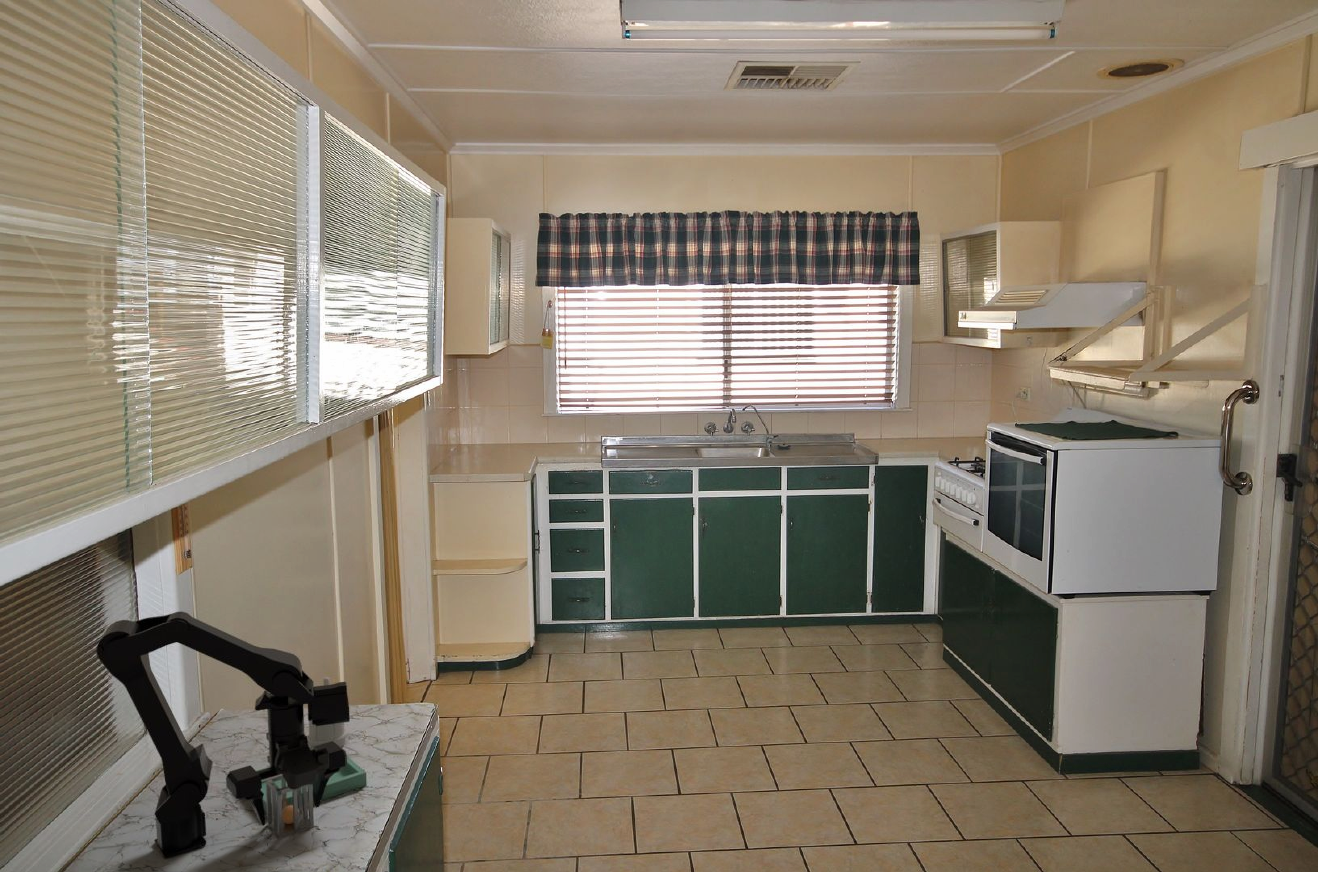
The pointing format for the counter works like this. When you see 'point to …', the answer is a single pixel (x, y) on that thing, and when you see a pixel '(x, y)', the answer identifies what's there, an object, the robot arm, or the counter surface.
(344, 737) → the mug
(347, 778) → the tray
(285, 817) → the ball
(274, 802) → the cage
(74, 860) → the counter surface
